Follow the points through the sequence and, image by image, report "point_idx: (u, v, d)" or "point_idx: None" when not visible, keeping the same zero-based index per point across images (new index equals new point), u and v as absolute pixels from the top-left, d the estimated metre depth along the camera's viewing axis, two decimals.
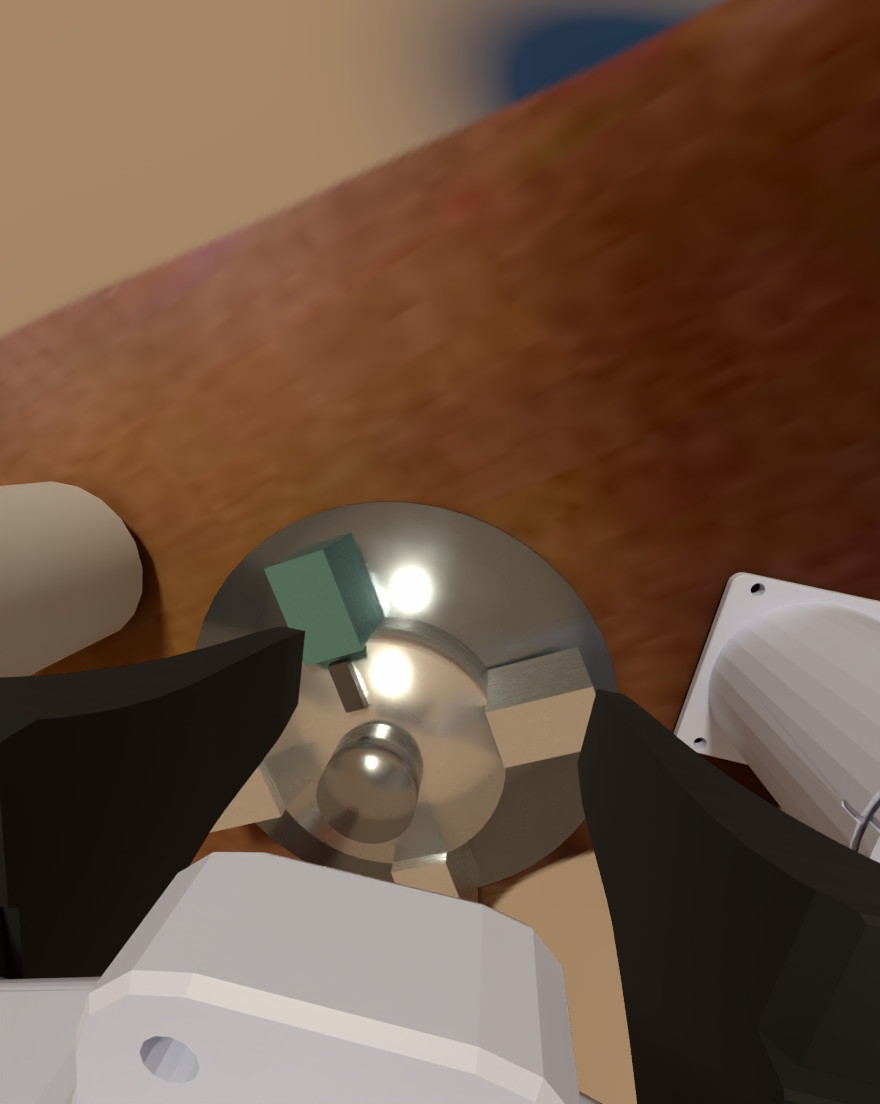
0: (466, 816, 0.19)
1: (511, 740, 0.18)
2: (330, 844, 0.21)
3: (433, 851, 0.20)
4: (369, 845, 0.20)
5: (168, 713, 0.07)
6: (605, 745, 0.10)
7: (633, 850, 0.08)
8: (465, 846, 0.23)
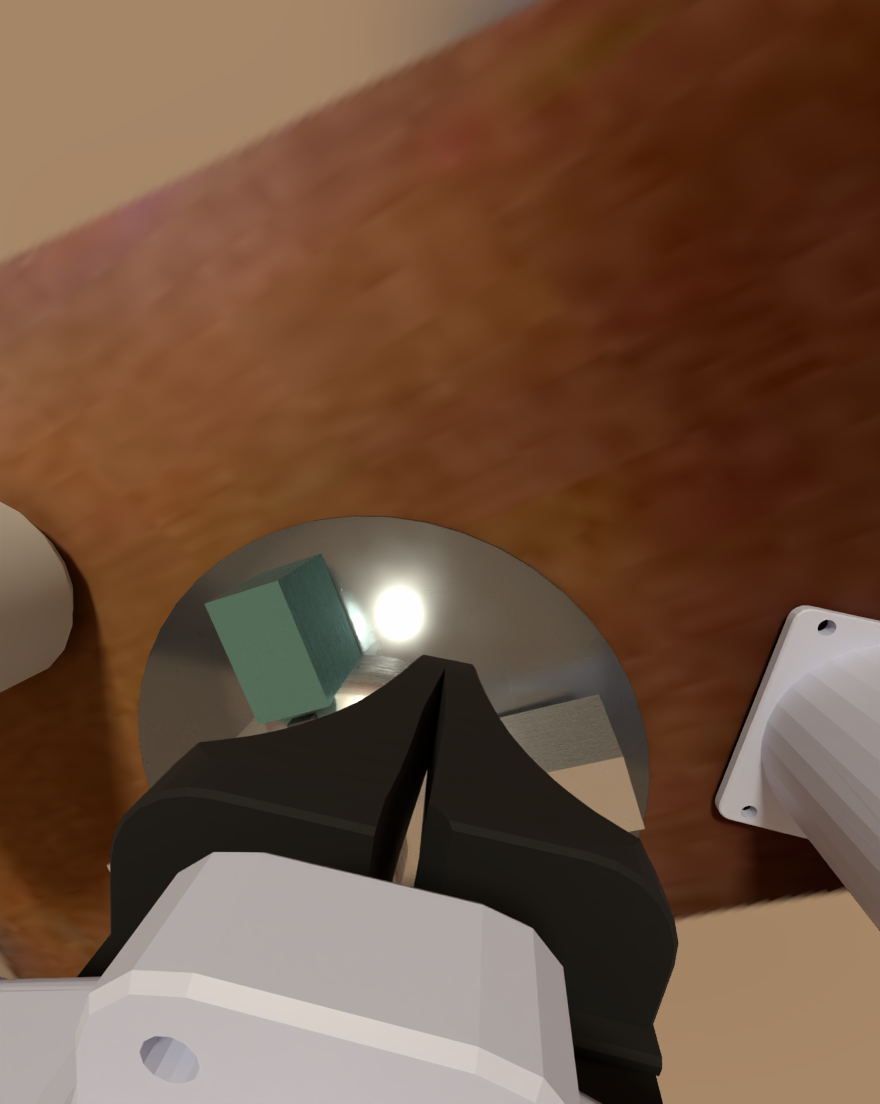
0: None
1: None
2: None
3: None
4: None
5: (406, 765, 0.07)
6: (439, 710, 0.10)
7: None
8: None
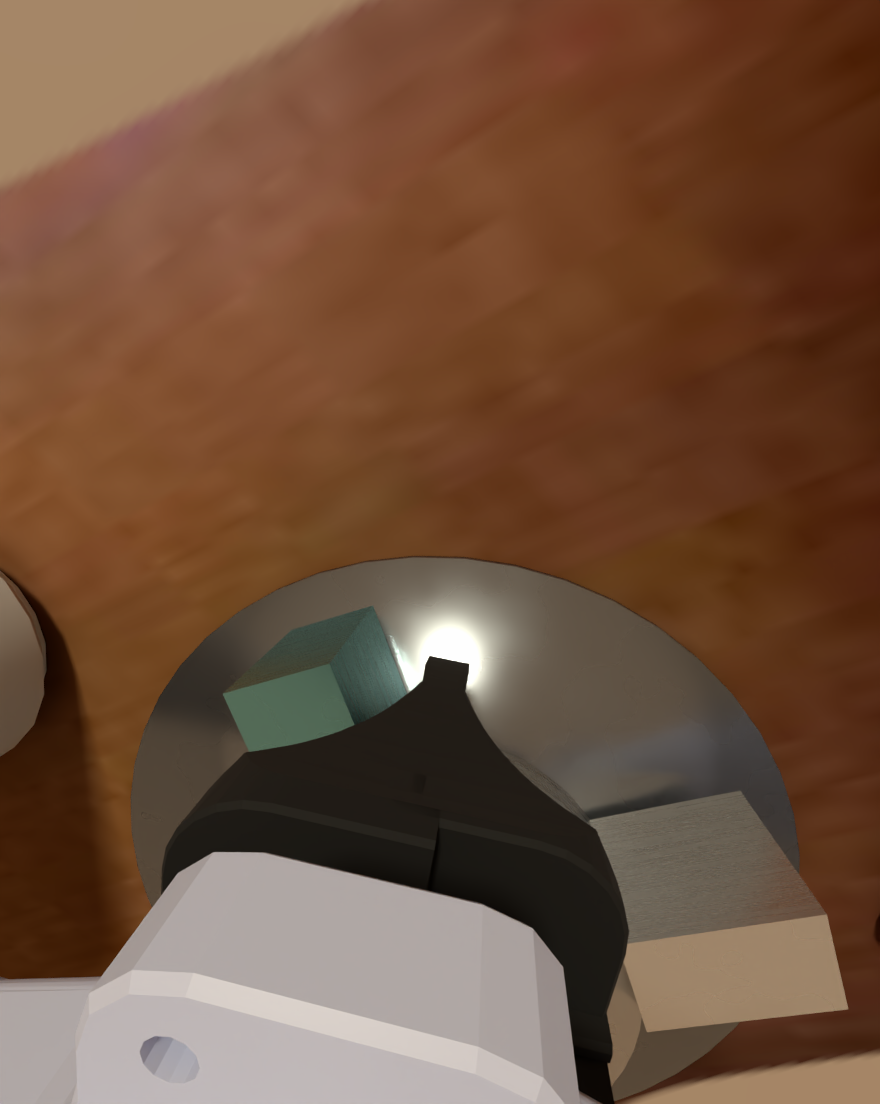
0: None
1: (663, 990, 0.10)
2: None
3: None
4: None
5: None
6: None
7: None
8: None
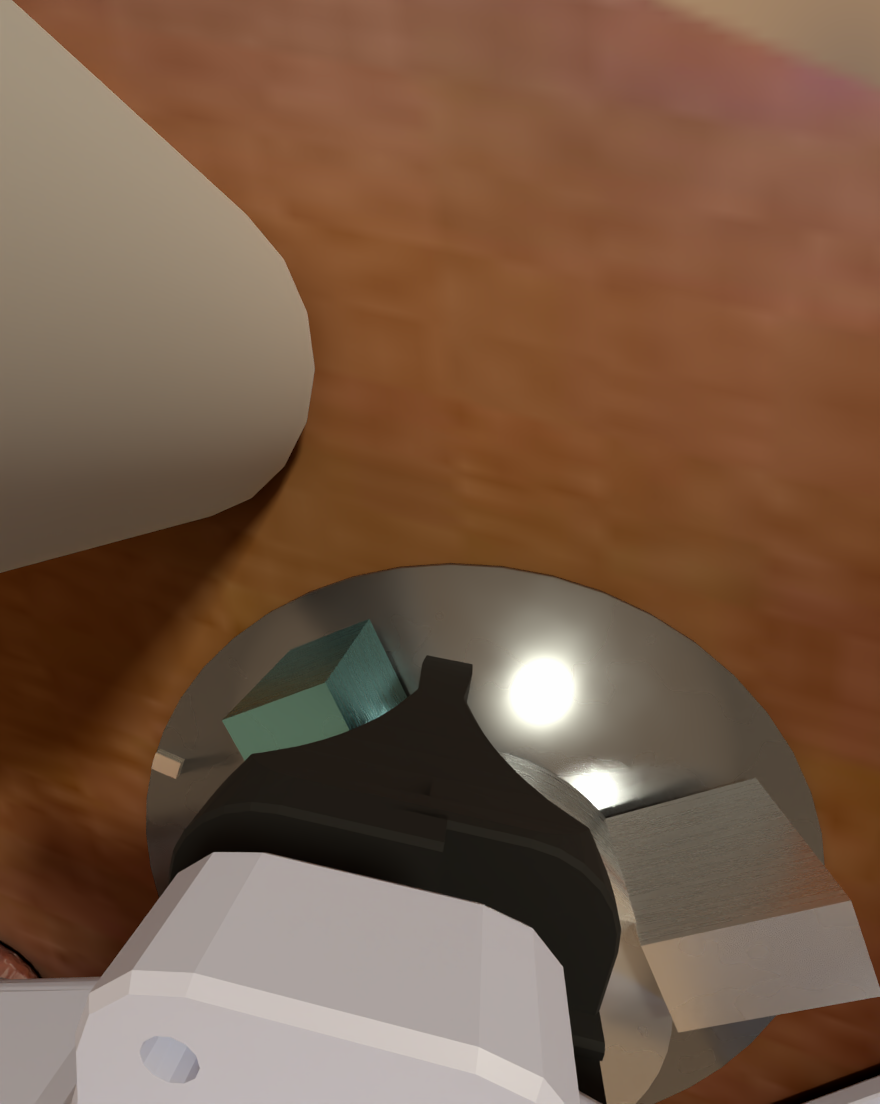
0: None
1: (691, 989, 0.10)
2: None
3: None
4: None
5: None
6: None
7: None
8: None
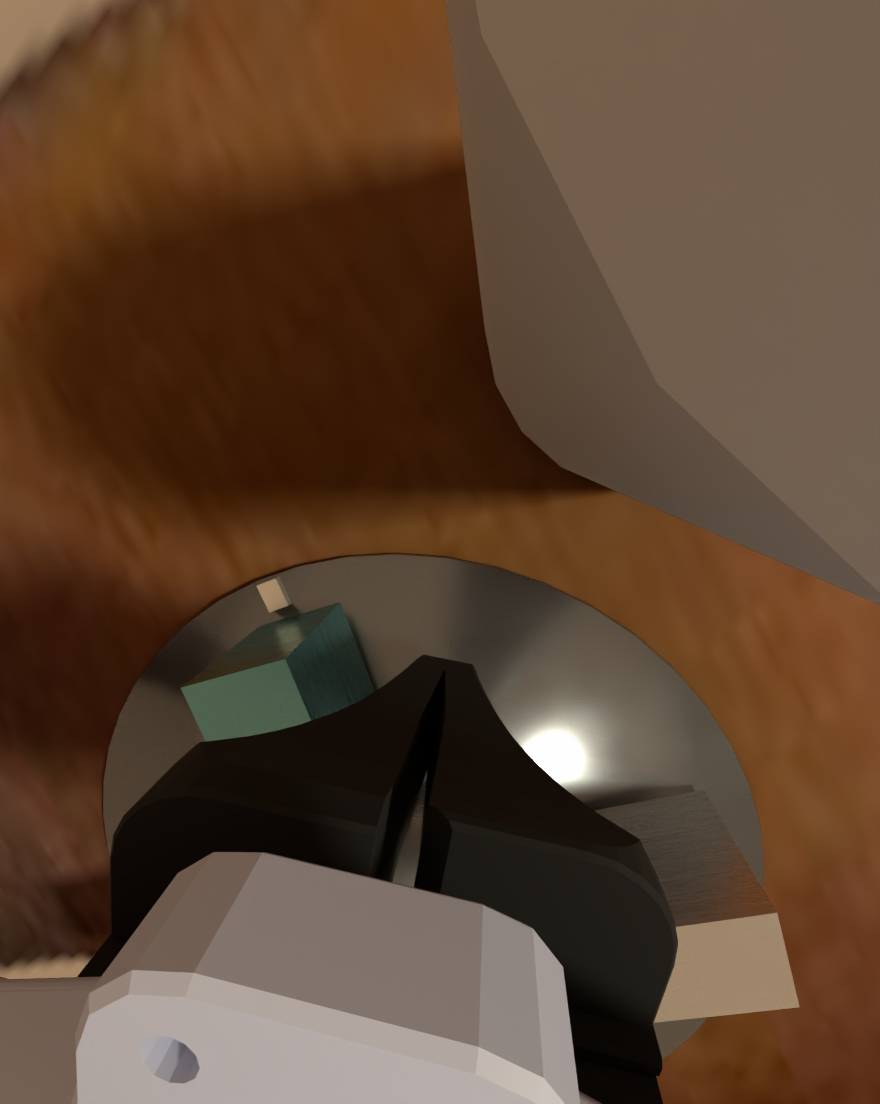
0: None
1: None
2: None
3: None
4: None
5: (406, 765, 0.07)
6: (439, 710, 0.10)
7: None
8: None
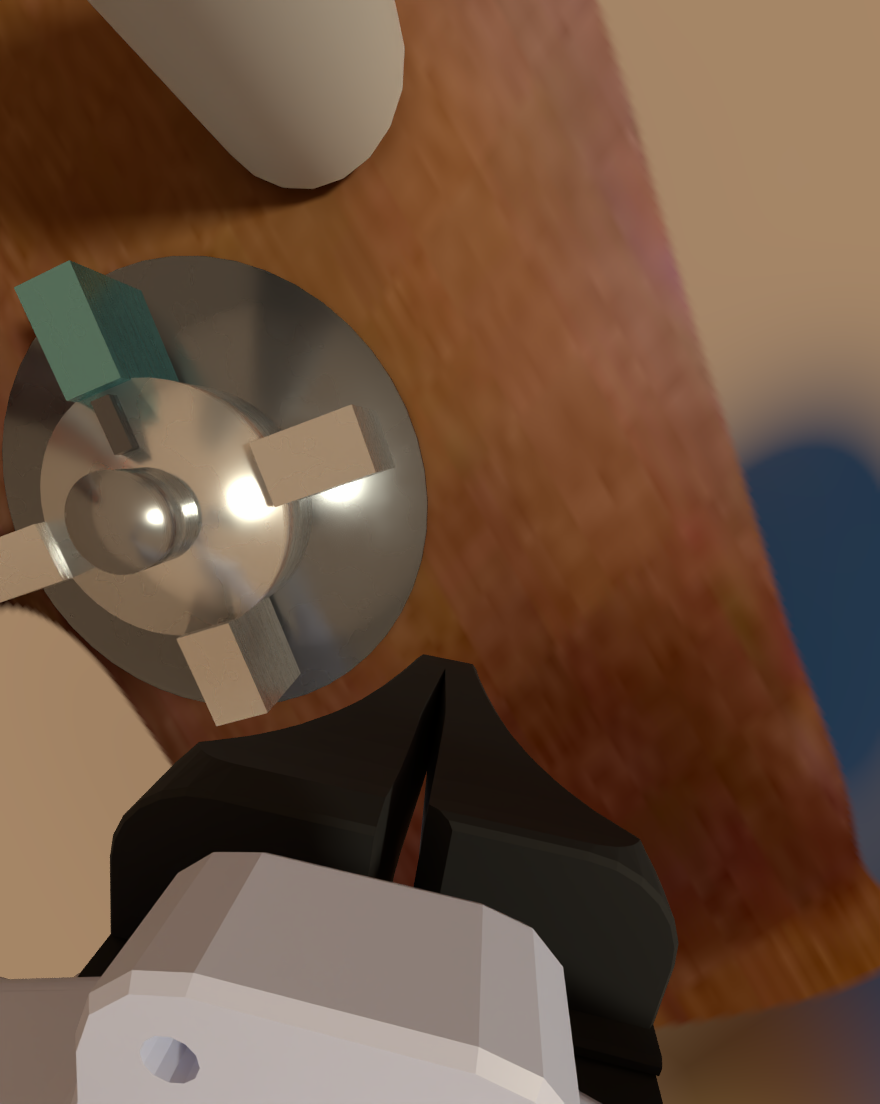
0: (250, 575, 0.19)
1: (278, 473, 0.17)
2: (120, 617, 0.20)
3: (221, 618, 0.19)
4: (158, 615, 0.20)
5: (406, 765, 0.07)
6: (439, 710, 0.10)
7: None
8: (279, 640, 0.22)
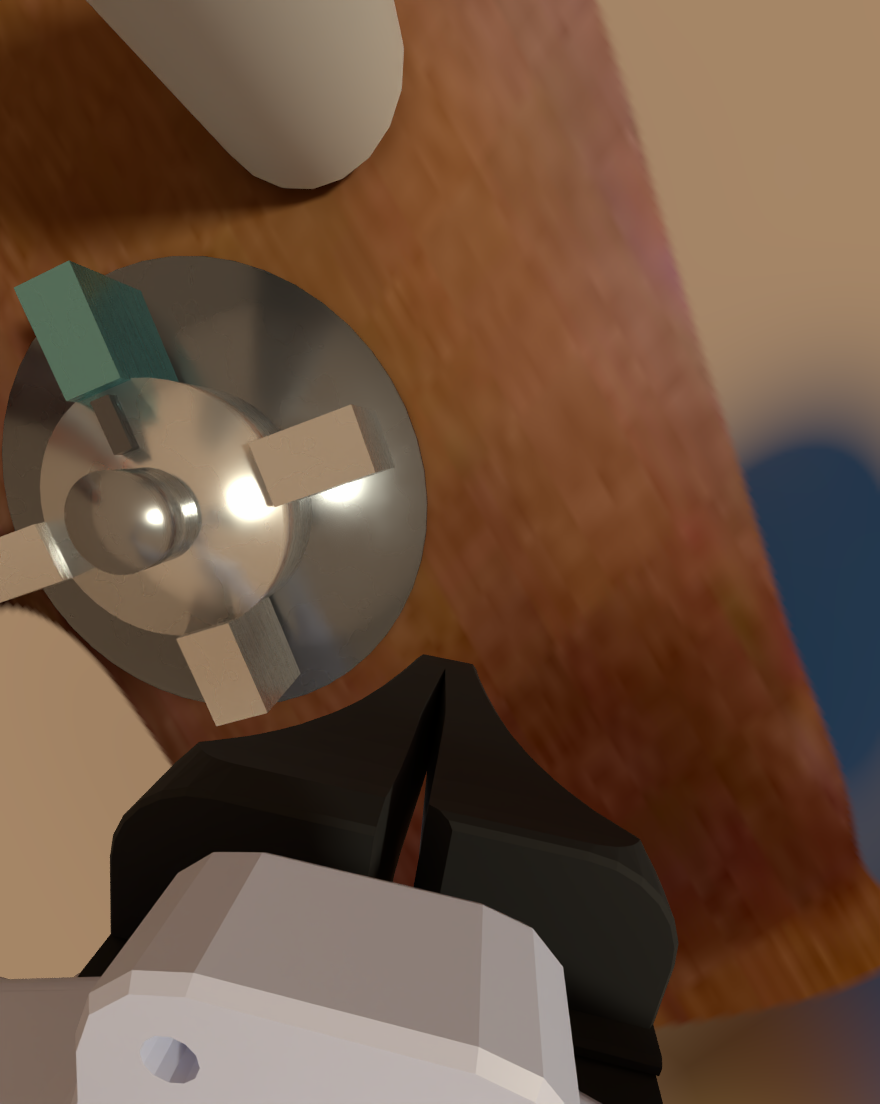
0: (249, 575, 0.19)
1: (277, 474, 0.17)
2: (120, 617, 0.20)
3: (221, 618, 0.19)
4: (158, 615, 0.20)
5: (406, 765, 0.07)
6: (439, 710, 0.10)
7: None
8: (279, 640, 0.22)
